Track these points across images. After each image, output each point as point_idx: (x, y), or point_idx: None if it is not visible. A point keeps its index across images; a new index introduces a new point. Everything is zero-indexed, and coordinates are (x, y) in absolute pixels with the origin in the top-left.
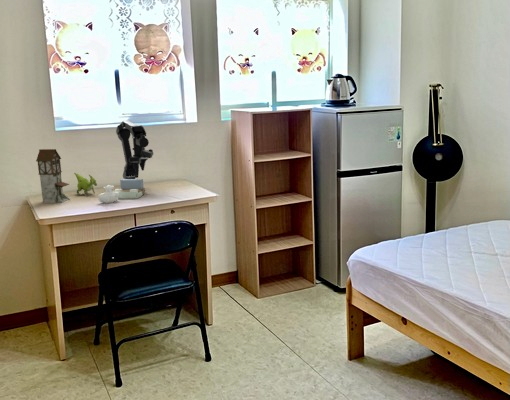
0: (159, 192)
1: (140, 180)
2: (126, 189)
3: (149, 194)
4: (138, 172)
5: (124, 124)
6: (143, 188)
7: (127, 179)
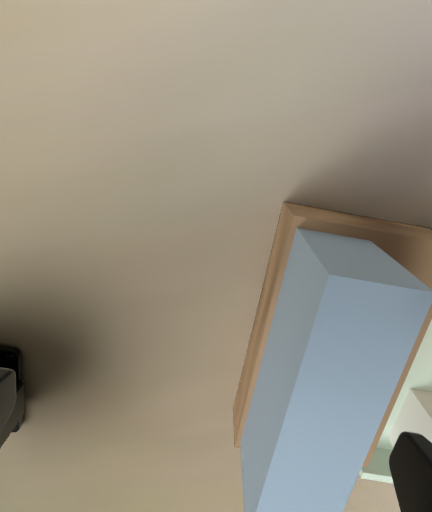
0: (308, 4)
1: (427, 296)
2: None
3: (403, 128)
4: (416, 435)
5: None
6: (330, 222)
7: (290, 488)
